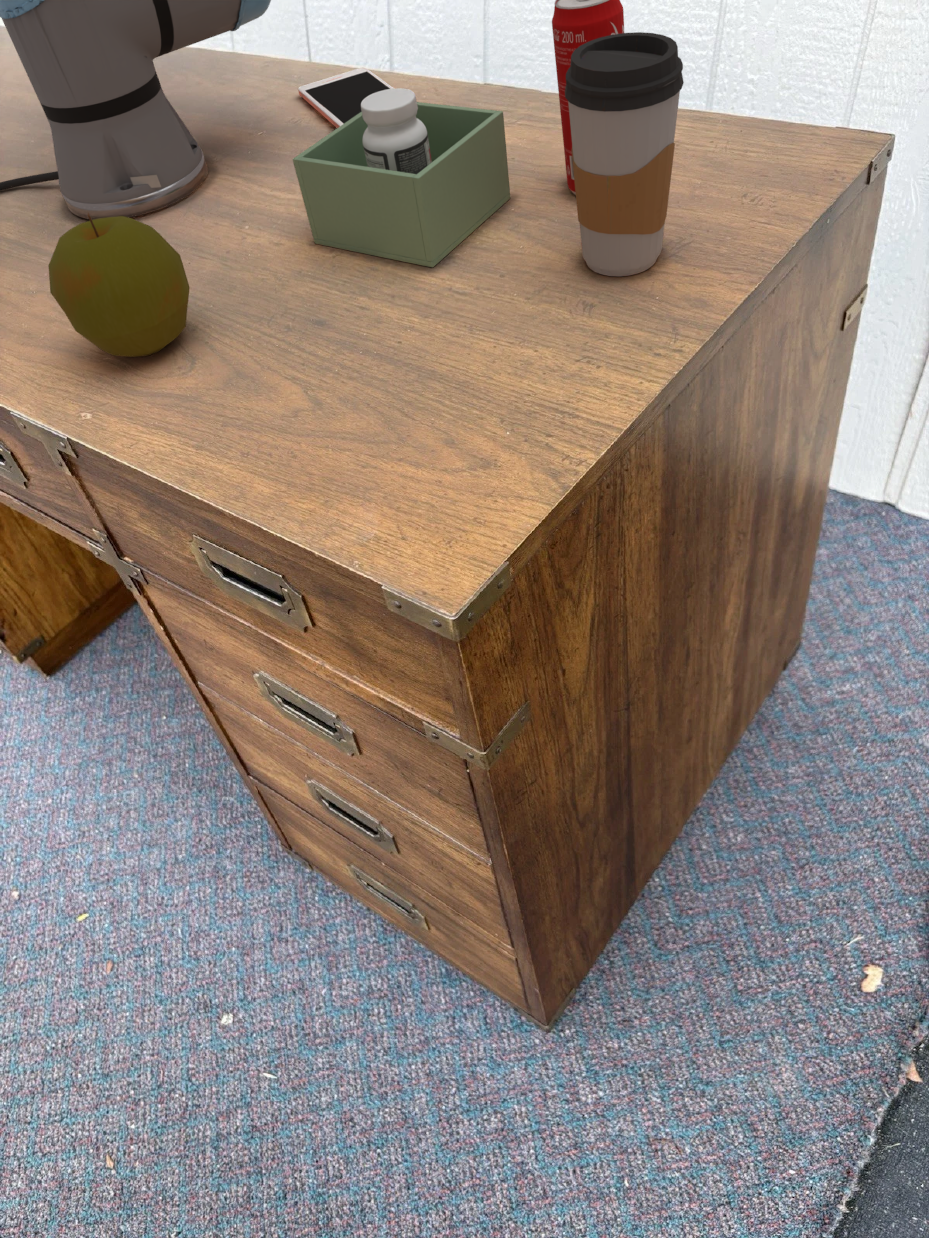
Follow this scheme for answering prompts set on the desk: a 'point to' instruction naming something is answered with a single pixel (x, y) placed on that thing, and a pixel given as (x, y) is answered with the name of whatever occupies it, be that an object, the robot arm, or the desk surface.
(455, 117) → the bin
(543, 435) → the desk surface
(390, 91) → the pill bottle
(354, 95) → the cell phone
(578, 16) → the beverage can
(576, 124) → the coffee cup
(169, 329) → the apple
